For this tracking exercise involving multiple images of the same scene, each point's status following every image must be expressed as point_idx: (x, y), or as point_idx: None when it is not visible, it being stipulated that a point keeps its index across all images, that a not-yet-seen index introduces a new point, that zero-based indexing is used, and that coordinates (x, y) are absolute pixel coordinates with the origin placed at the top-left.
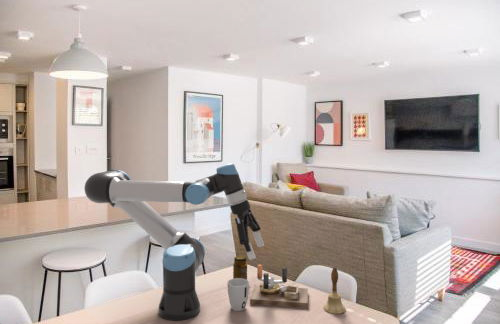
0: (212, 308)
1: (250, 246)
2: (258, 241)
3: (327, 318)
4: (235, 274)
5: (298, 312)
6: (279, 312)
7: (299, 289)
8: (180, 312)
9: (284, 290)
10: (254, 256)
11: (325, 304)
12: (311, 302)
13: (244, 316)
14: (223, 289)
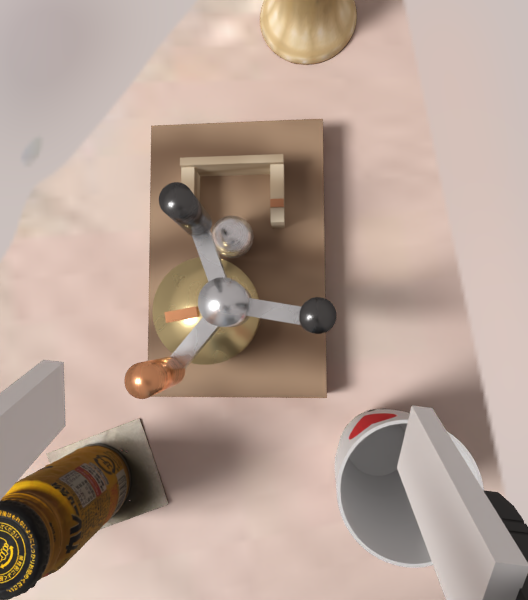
0: (403, 569)
1: (494, 518)
2: (28, 438)
3: (404, 46)
4: (97, 529)
5: (370, 167)
6: (385, 249)
7: (170, 164)
8: None
9: (250, 226)
10: (437, 424)
11: (297, 47)
12: (258, 116)
13: (456, 401)
14: (175, 556)
